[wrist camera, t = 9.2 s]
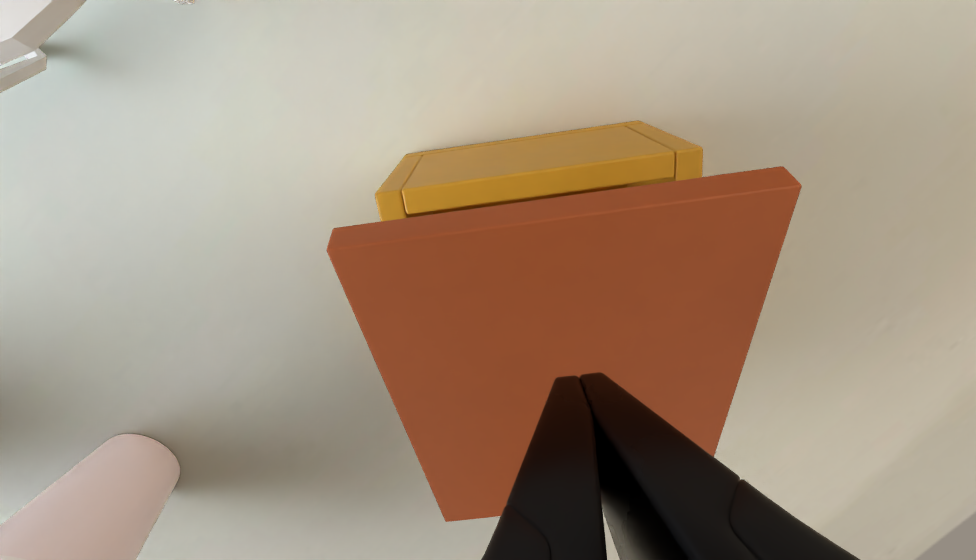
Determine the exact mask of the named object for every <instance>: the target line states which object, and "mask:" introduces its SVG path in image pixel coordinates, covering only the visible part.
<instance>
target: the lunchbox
mask: <svg viewBox="0 0 976 560" xmlns="http://www.w3.org/2000/svg"><path fill="white" fill-rule="evenodd" d="M702 162H703V149H702V147H700V146H698V145H695V144H693V143H691V142H688V141H686V140H684V139H681V138H679V137H676V136H674V135H672V134H669V133H667V132H664V131H662V130H660V129H657V128H655V127H653V126H650V125H648V124H645V123H643V122H641V121H632V122H625V123H618V124H611V125H604V126H598V127H591V128H584V129H577V130H570V131H563V132H556V133H549V134H542V135H535V136H529V137H522V138H515V139H508V140H501V141H494V142H487V143H480V144H473V145H466V146H459V147H453V148H446V149H439V150H432V151H425V152H418V153H411V154H406V155H405V156H404V158H403V159H402V160H401V162H400V163H399V164H398V165H397V167H396V168H395V169H394V170H393V172H392V173H391V174H390V175H389V177H388V178H387V179H386V181H385V182H384V183H383V184H382V186H381V187H380V188H379V189H378V191H377V192H376V193H375V199H376V203H377V207H378V211H379V216H380V220H381V222H382V221H390V220H397V219H404V218H411V217H419V216H426V215H433V214H440V213H448V212H455V211H462V210H469V209H476V208H484V207H491V206H498V205H505V204H513V203H520V202H527V201H534V200H542V199H549V198H556V197H563V196H571V195H578V194H585V193H592V192H599V191H607V190H614V189H621V188H628V187H636V186H643V185H650V184H657V183H665V182H672V181H679V180H686V179H693V178H701V177H702Z"/></svg>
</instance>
